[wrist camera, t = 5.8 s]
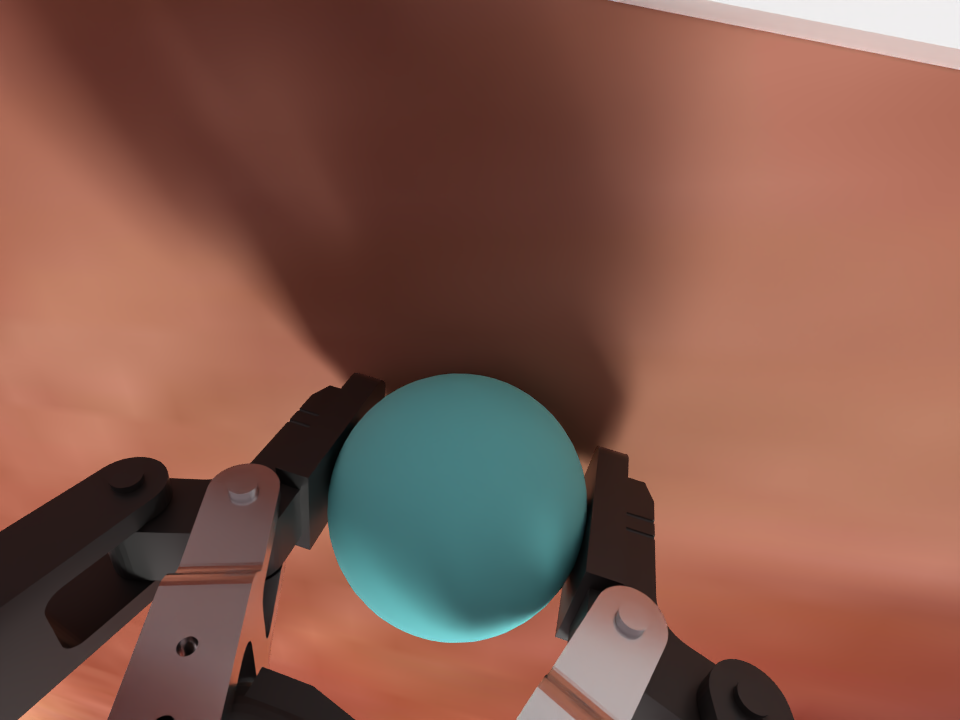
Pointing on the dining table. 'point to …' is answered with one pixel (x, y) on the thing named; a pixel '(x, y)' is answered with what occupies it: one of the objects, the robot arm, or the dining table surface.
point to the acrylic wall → (842, 23)
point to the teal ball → (457, 508)
